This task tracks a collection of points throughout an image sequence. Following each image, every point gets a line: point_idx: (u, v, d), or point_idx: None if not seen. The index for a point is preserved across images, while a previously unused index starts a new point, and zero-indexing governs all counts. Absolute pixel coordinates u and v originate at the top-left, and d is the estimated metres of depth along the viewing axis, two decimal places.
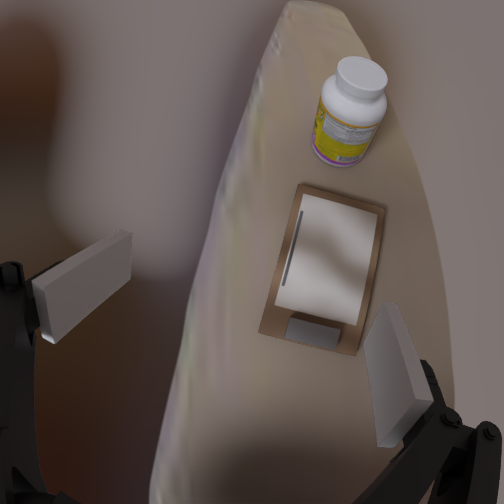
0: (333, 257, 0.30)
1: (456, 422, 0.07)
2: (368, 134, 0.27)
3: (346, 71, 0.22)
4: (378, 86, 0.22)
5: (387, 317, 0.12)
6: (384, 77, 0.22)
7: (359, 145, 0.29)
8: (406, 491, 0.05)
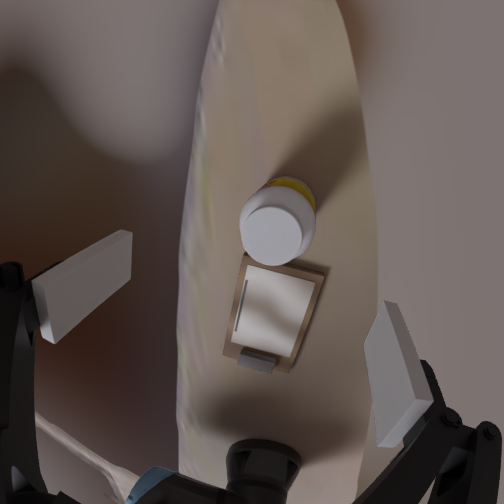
0: (272, 315, 0.39)
1: (456, 422, 0.07)
2: None
3: (250, 239, 0.24)
4: (285, 259, 0.23)
5: (387, 317, 0.12)
6: (298, 242, 0.23)
7: None
8: (406, 491, 0.05)
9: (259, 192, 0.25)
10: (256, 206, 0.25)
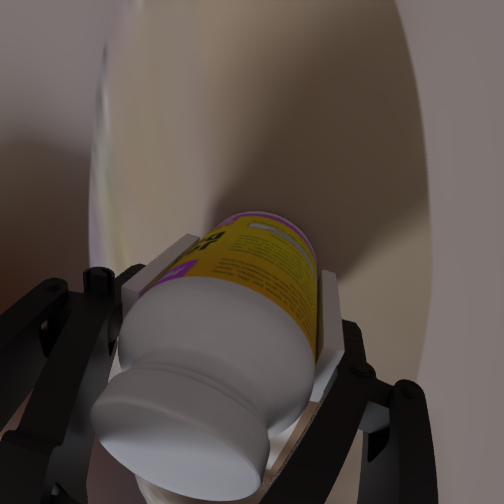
0: None
1: (368, 372, 0.09)
2: None
3: (119, 449, 0.06)
4: (217, 497, 0.06)
5: (321, 282, 0.14)
6: (248, 486, 0.06)
7: None
8: (329, 447, 0.06)
9: (149, 299, 0.08)
10: (139, 343, 0.08)
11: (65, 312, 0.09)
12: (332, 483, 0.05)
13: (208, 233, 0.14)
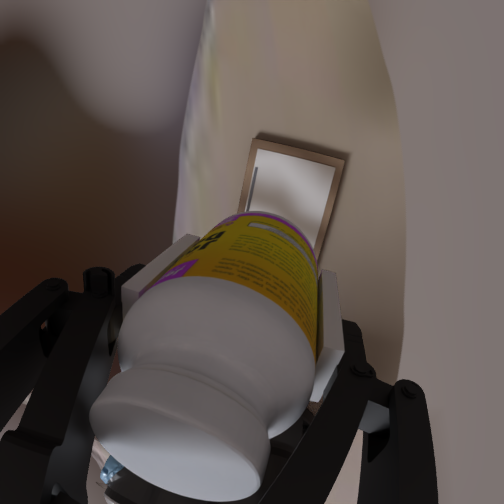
0: (287, 211, 0.33)
1: (368, 372, 0.09)
2: None
3: (119, 450, 0.06)
4: (217, 498, 0.06)
5: (321, 282, 0.14)
6: (248, 486, 0.06)
7: None
8: (329, 446, 0.06)
9: (148, 299, 0.08)
10: (139, 343, 0.08)
11: (65, 312, 0.09)
12: (332, 483, 0.05)
13: (208, 233, 0.14)
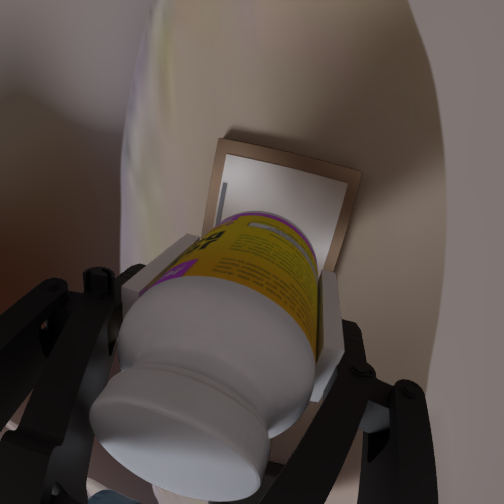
0: None
1: (368, 372, 0.09)
2: None
3: (119, 449, 0.06)
4: (217, 498, 0.06)
5: (321, 283, 0.14)
6: (248, 486, 0.06)
7: None
8: (329, 446, 0.06)
9: (149, 298, 0.08)
10: (139, 343, 0.08)
11: (65, 312, 0.09)
12: (332, 483, 0.05)
13: (208, 232, 0.14)
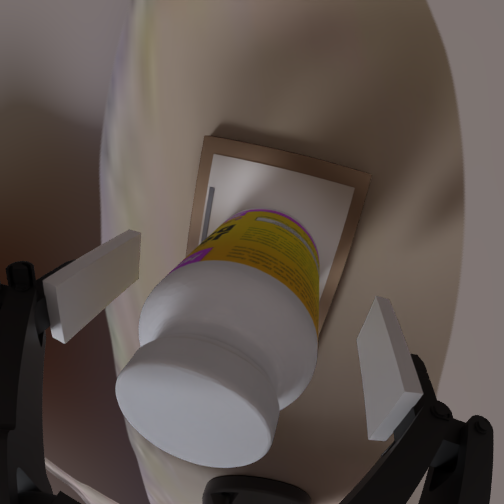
0: None
1: (446, 415, 0.07)
2: None
3: (141, 418, 0.08)
4: (230, 463, 0.08)
5: (379, 312, 0.13)
6: (259, 446, 0.07)
7: None
8: (397, 485, 0.05)
9: (170, 280, 0.10)
10: (161, 320, 0.09)
11: None
12: None
13: (218, 227, 0.16)
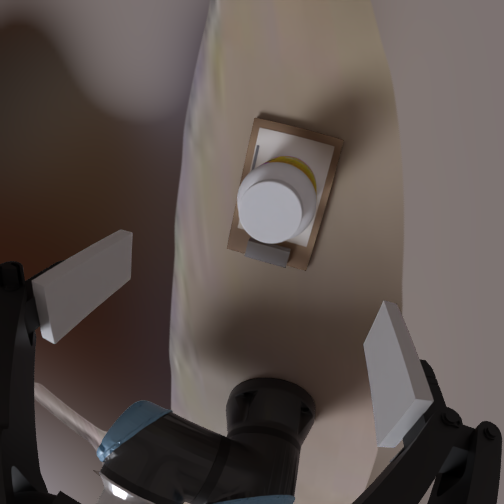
0: None
1: (456, 422, 0.07)
2: None
3: (248, 216, 0.22)
4: (284, 236, 0.22)
5: (387, 317, 0.12)
6: (297, 219, 0.22)
7: None
8: (406, 491, 0.05)
9: (257, 168, 0.24)
10: (254, 182, 0.24)
11: None
12: None
13: None
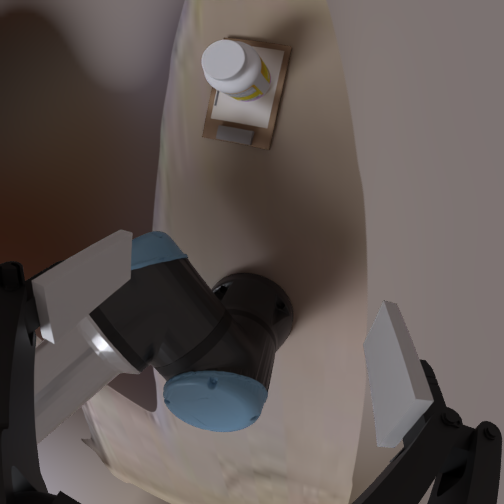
0: None
1: (456, 422, 0.07)
2: (249, 91, 0.33)
3: (208, 63, 0.27)
4: (233, 72, 0.27)
5: (387, 317, 0.12)
6: (241, 59, 0.26)
7: (249, 95, 0.35)
8: (406, 491, 0.05)
9: None
10: None
11: None
12: None
13: None
